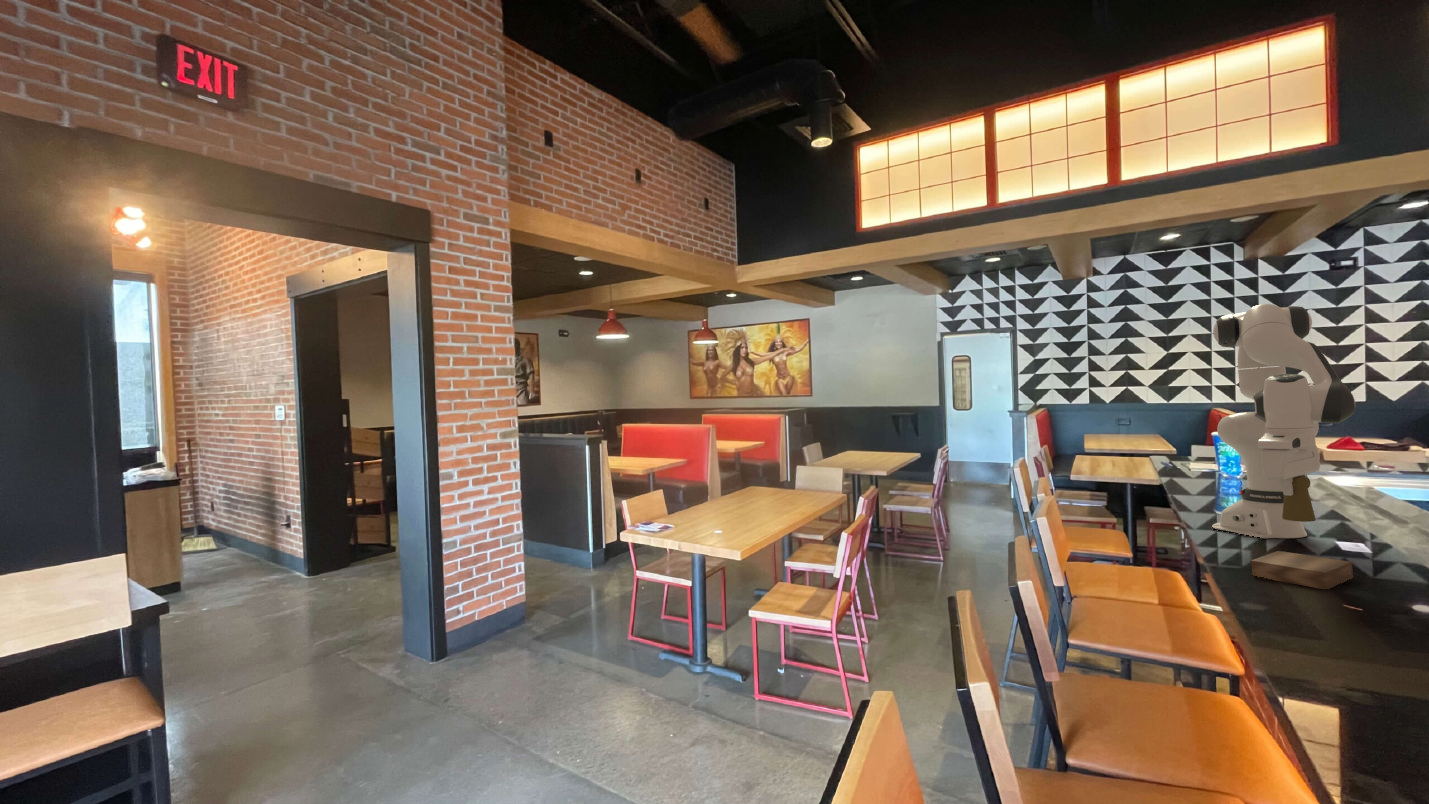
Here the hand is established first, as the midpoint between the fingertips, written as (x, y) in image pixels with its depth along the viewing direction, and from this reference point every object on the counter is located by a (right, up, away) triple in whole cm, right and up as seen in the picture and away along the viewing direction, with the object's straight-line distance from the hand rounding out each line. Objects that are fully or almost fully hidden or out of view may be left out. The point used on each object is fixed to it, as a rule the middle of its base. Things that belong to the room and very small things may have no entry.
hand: (1294, 493), depth 147 cm
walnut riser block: (+2, -21, 0) cm, 21 cm away
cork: (+1, -7, 0) cm, 7 cm away
